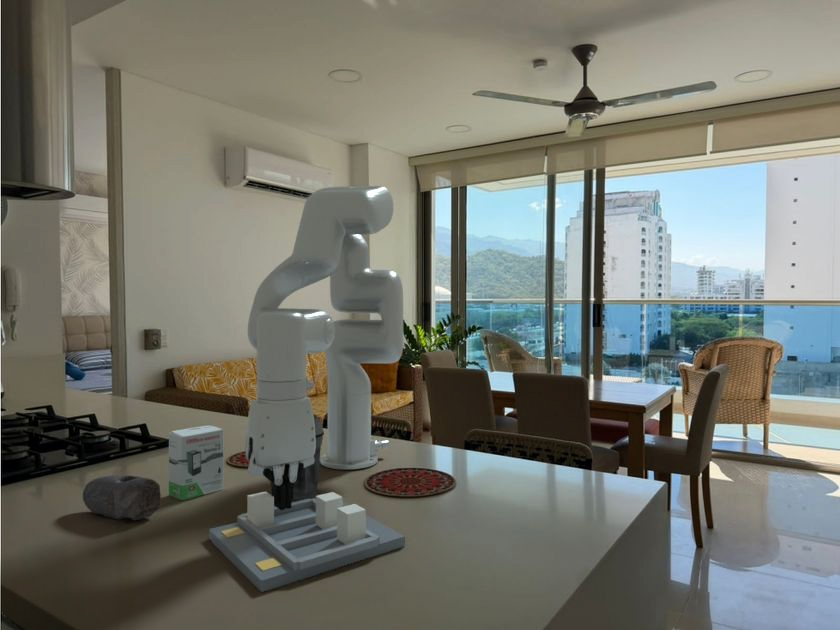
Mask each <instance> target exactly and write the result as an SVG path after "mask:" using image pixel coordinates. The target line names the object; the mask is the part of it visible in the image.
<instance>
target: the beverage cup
mask: <svg viewBox="0 0 840 630" xmlns="http://www.w3.org/2000/svg"><path fill="white" fill-rule="evenodd" d="M313 416H314V424H315V439H316V448H315V454H314V459H315V462H314V463H313V464H312V465H310V466H307V467H305V468H303V469H302V470H301V472H300V473H299V474H298V475H297V479H296V481H295V482H293V501H294V500H295V501H301V500H305V499H313V498H314V499H316V496H317V492H318V485H319V484H318V483H319V475H320V473H319V472H320V463H321V450H322V448H321V447H322V445H323V438H324V435H325V433H324V432H325V431H324V428H323V427H324V426H323V423H322V422H321V420H320V418H319V417H318V416H317V415H316V414H314V413H313Z"/></svg>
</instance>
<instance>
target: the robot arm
mask: <svg viewBox="0 0 840 630" xmlns="http://www.w3.org/2000/svg"><path fill="white" fill-rule="evenodd" d="M393 214H394V199H393V197H392V194H391V192H390V191H389V189H388V188H387V187H385V186H383V185H369V186H367V185H365V186H364V185H363V186H362V185H361V186H345V185H344V186H331V187H323V188H320V189H317V190H315V191H314V192H313V193H312V194H310V195H309V196H308V197H307V198H306V201H305V203H304V206H303V209H302V213H301V217H300V221H299V226H298V230H297V233H296V237H295V242H294V245H293V250H292V254H291V255H290V256H288V257H287V258H285V260H283V261H282V262H281V263H280V264H278V265H277V266H276V267H274V268H273V270H271V272H270V273H269V274H268V275H267V276H266V277H265V278H264V279H263V281H262V282H261V283H260V284H259V286H258V288H257V290H256V292H255V295H254V297H253V302H252V304H251V305H252V306H251V309H250V312H249V318H248V324H247V338H248V341H249V343H250V345H251V347H252V348H253V349H254V350H256V399H252V400H251V401H250V406H249V410H248V411H249V412H248V416H247V417H248V418H247V425H246V435H245V459H246V461H248V468H247V473H248V474H249V475H251V476H254V477H265V478H266V479H267V480H268V481H269V482H270V485H271V487H270V493H271V494H270V495H272V496H273V497H274V507H277V508H278V509H280V510H285V509H286V508H287V509H289V508H291V503H292V501H294V499H293V482H295V481H296V479H297V475H298V474H299V473H300V472H301V470H302V469H303V468H305V467H307V466H310V465H312V464H313V463H314V462H315V459H314V454H315V448H316V439H315V424H314V416H313V414H314V410H313V407H312V401H311V397H309V396H307V395H308V390H310V389H313V388H314V385H315V384H314V380H309V379H308V377H307V355H309V354H311V355H313V354H315V355H317V354H321V353H323V352H324V355H325V361H326V371H327V372H326V373H327V452H326V453H324V454H322V455H321V456H320V464H321V465H322V467H325V468H328V469H332V470H343V471H344V470H345V471H346V470H347V471H349V470H350V471H351V470H359V469H365V468H369V467H372V466H374V465H376V464H377V463H378V461H379V459H378V458H379V457H378V454H377V452H378V451H379V450H385V449H389V447H390V442H389V440H388V439H384V440H383V439H382V440H379V441H378V440H377V439H372V422H371V421H372V383H371V380H370V377H369V375H368V373H367V372H366V371H365V369H364V368H363V367H362V365H361V364H394V363H397V362H398V361H399V360H400V359H401V357H402V355H403V350H404V290H403V284H402V280H401V277H400V276H399V274H398V273H397V272H395V271H393V270H390V269H370V259H369V258H370V256H369V254H370V250H369V246H368V243H367V241H366V240H365V238H364V235H374V234H377V233H379V232H380V231H382V230H384V229H385V228H386V227H388V226H389V224H390V223H391V221H392V218H393ZM362 235H363V236H362ZM326 278H329V293H330V296H329V297H330V302H331V303H330V304H331V307H332V308H333V310H335V311H337V312H339V313H343V314H344V313H345V314H346V313H347V314H378V315H379V316H380V317H381V319H363V318H362V319H359V318H357V319H355V318H354V319H353V318H349V319H338V320H333V318H332V316H331V315H330V314H329V313H328V312H326V311H323V310H321V309H317V308H316V309H315V308H292V307H290V308H289V307H288V308H282V307H281V308H280V306H281V304H282V303H283V302H284V300H286V298H288V297H289V296H291V295H292V294H293V293H295V292H297V291H299V290H302V289H303V288H306V287H309V286H311V285H314V284H315V283H318V282H320V281H322V280H325V279H326ZM281 466H282V468H281Z"/></svg>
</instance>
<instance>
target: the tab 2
mask: <svg viewBox="0 0 840 630" xmlns="http://www.w3.org/2000/svg"><path fill="white" fill-rule="evenodd" d="M315 499H316V525H317V526H318V527H320V528H321V529H326V528H330V527H333V526H337V508H340V507H343V502H344V501H343V500H344V499H343V496H341V495H340V494H337V493H335V492H334V491H332V492H328V493H327V492H326V493H322V494H317V495H316V497H315Z"/></svg>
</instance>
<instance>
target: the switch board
mask: <svg viewBox="0 0 840 630" xmlns="http://www.w3.org/2000/svg"><path fill="white" fill-rule="evenodd" d="M348 505H349V504H347V503H345V502H344V501H343V507H344V506H348ZM236 519H237V522H233V523H229V524H228V523H227V524H225V525H220V526H216V527H212V528H208V540H209V539H210V540H211V541H212V542H211V541H210V540H209V541H210V542H211V543H212V544H213V545H214V546H215V547H216V548H217V549H218V550H219V551H220V552H221V553H222V554H223V555H224V556H225V558H227V559H228V561H230V562H231V563H232V564H233V565H234V566H235V567H236V568H237V569H238V570H239V571H240V572H241V574H243V575H244V576H245V577H246V578H247V579H248V580H249V581H250V583H252V585H254V586H255V587H256V589H257V590H259V591H260V593H264V591H265V592H268V591H271V590H274V589H277V588H280V587H282V586H283V587H284V586H286V585H289V584H293V583H296V582H299V581H301V580H304V579H307V578H308V579H309V578H311V577H314V576H317V575H320V573H321V574H323V572H324V573H326V571H327V572H329V570H330V571H333V570H336V569H339V568H342V567H345V566H348V565H347V564H349V565H351V563H352V564H354V562H355V563H358V562H360V560H361V561H364V560H367V559H370V558H373V557H376V556H380V555H382V554H386V553H388V552H391V551H392V552H393V551H395V550H397V549H401V548H404V547H405V546H406V543H405V538H406V536H405V535H403V534H401V533H399V532H397V530H393V529H392V528H391V527H388V526H386V525H385V524H383V523H382V522H380V521H378V520H377V519H374V518H373V517H371V516H369V515H367V514H366V538H365V539H362V540H359V541H355V542H352V543H348V544H344V543H342V542H341V541H339V540H338V539H337V526H333V527H330V528H326V529H321V528H320V527H318V526H317V525H316V498H313V499H305V500H301V501H300V500H296V501H293V502H292V501H291V508H289V509H287V508H286V509H285V510H280V509H278V508H277V507H275V506H274V523H273V524H269V525H265V526H261V527H257V526H256V525H254V524H253V523H252V522H251V521H250V520H248V519H247V512H245V513H241V514H240V515H237V518H236ZM366 558H367V559H366ZM357 561H358V562H357ZM344 565H345V566H344ZM341 566H342V567H341ZM338 567H339V568H338ZM335 568H336V569H335ZM332 569H333V570H332ZM298 580H299V581H298Z"/></svg>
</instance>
